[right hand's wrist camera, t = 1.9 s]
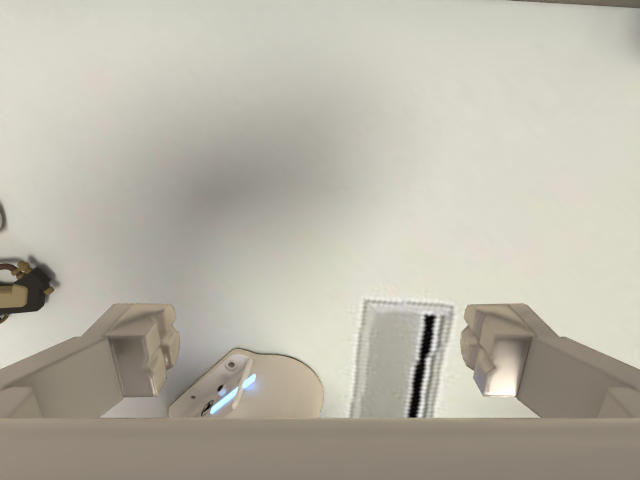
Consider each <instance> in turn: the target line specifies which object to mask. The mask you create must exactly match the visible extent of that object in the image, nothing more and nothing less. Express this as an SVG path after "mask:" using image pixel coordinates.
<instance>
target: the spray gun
mask: <svg viewBox="0 0 640 480" xmlns="http://www.w3.org/2000/svg"><path fill="white" fill-rule="evenodd" d="M1 225H2V216H1V214H0V228H1ZM17 266H18V267H19V268H17V267H16V266H14V265H12V264H7V263H5V264H0V270H3V269H7V270H10V271H12V272H11V274H12V275H13V276H14V275H16V276H17V279H18V280H17V281H16V282H14V285H13V286H0V315H1V314H4V315H5V316H4V317H3V318H0V324H1V323H2V322H4V321H5V320H6V319H7V318H8V314H12V313H23V312H34V311H38V310H39V309H41V308H42V307H43V306H44V301H45V294H46V295H49V294H51V293H52V292H53V291H54V288H53V287H52V286H51V287H50V286H49V283H48V282H49V281H50V280H51V279H50V278H49V277H48V276H47V275H46V274H45V273H44V272H43V271H42V270H41V269H40V268H39V267H37V268H35V269H34V270H33V269H32V268H29V265H28V264H27V263H25V262H24V261H21V262H20V263H18V264H17ZM21 271H25V272H21Z"/></svg>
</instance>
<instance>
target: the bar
mask: <svg viewBox="0 0 640 480" xmlns="http://www.w3.org/2000/svg"><path fill="white" fill-rule="evenodd" d="M514 1H531V2H548V3H565V4H582V5H599V6H616V7H633V8H640V0H514Z"/></svg>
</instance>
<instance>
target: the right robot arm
mask: <svg viewBox="0 0 640 480" xmlns="http://www.w3.org/2000/svg"><path fill="white" fill-rule="evenodd" d="M175 319H176V315H175V310H174V307H173V306H172V305H171V304H134V303H121V304H113V305H112V306H111V307H110V308H109V309H108V310H107V311H106V312H105V313H104V314H103V315H102V316H101V317H100V318H99V319H98V320H97V321H96V322H95V323H94V324H93V325H92V326H91V327H90V328H89V329H88V330H87V331H86V332H85V333H84V334H83V335H82V336H81V337H73V338H71V339H69V340H67V341H64V342H62V343H60V344H57V345H55V346H53V347H51V348H48V349H46V350H44V351H41V352H39V353H37V354H35V355H32V356H30V357H28V358H25V359H23V360H21V361H19V362H16V363H14V364H12V365H10V366H7V367H5V368H3V369H0V480H640V370H639V369H637V368H635V367H633V366H630V365H628V364H626V363H623V362H621V361H619V360H617V359H614V358H612V357H610V356H608V355H605V354H603V353H601V352H598V351H596V350H594V349H592V348H589V347H587V346H585V345H583V344H580V343H578V342H576V341H573V340H571V339H569V338H567V337H559V336H558V335H557V334H556V333H555V332H554V331H553V330H552V329H551V328H550V327H549V326H548V325H547V324H546V323H545V322H544V321H543V320H542V319H541V318H540V317H539V316H538V315H537V314H536V313H535V312H534V311H533V310H532V309H531V308H530V307H529V306H528V305H526V304H523V303H513V304H475V305H467V307H466V310H465V314H464V319H465V321H466V322H467V324H468V326H467V327H466V328H465V329H464V330H463V331H462V332H461V340H460V345H461V354H462V357H463V360H464V362H465V364H466V366H467V367H469V368H470V369H472V370H474V376H473V379H474V380H475V382H476V384H477V386H478V388H479V389H480V391H481V393H482V395H483V397H517V399H518V400H519V401H520V402H522V403H523V404H524V405H525V406H527V407H528V408H529V409H531V410H532V411H533V412H534V413H536V414H537V415H538V416H540V417H541V418H319V415H320V411H321V408H322V405H323V401H324V392H323V388H322V385H321V382H320V380H319V379H318V377H317V376H316V374H315V373H314V372H313V371H312V370H311V369H310V368H309V367H307V366H306V365H304V364H303V363H301V362H299V361H297V360H295V359H292V358H289V357H286V356H281V355H260V354H255V353H252V352H249V351H246V350H243V349H234V350H232V351H231V352H229V353H228V354H227V355H226V356H225V357H224V358H223V359H222V360H220V361H219V362H218V363H217V364H216V365H215V366H214V367H213V368H212V369H210V370H209V371H208V372H207V373H206V374H205V375H204V376H203V377H201V378H200V379H199V380H198V381H197V382H196V383H195V384H194V385H193V386H191V387H190V388H189V389H188V390H187V391H186V392H185V393H184V394H183V395H181V396H180V397H179V398H178V399H177V400H176V401H175V402H174V403H173V404H172V405H171V406H170V408H169V411H168V415H169V418H99V417H101V416H102V415H103V414H104V413H106V412H107V411H108V410H110V409H111V408H112V407H113V406H115V405H116V404H117V403H119V402H120V401H121V400H122V399H123V397H157V395H158V393H159V391H160V389H161V388H162V386H163V384H164V382H165V380H166V379H167V376H166V370H168V369H170V368H171V367H173V366H174V364H175V362H176V360H177V357H178V353H179V348H180V339H179V332H178V331H177V330H176V329H175V328H174V327H173V326H172V324H173V322H174V321H175ZM230 362H233V363H234V364H231V363H230Z"/></svg>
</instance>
